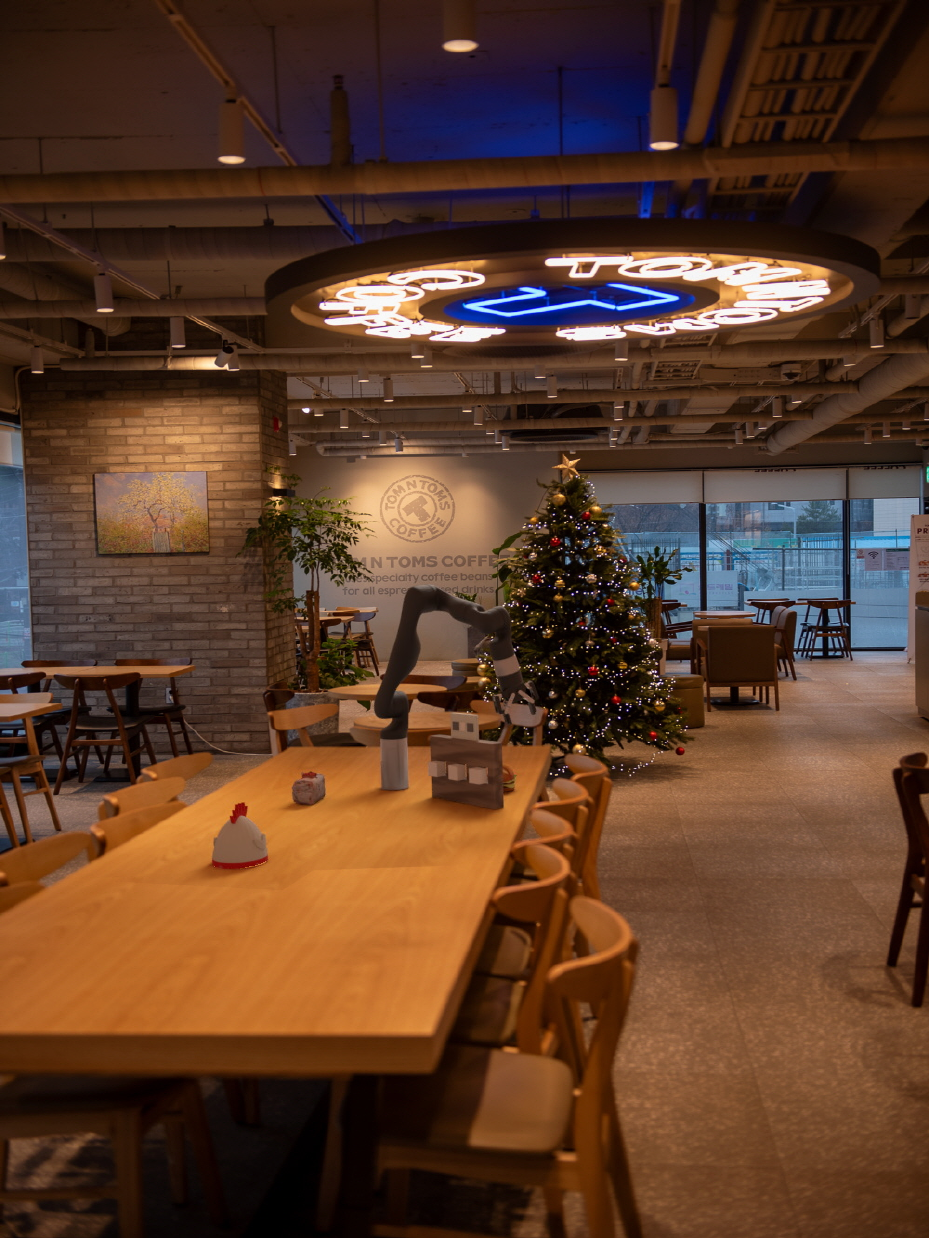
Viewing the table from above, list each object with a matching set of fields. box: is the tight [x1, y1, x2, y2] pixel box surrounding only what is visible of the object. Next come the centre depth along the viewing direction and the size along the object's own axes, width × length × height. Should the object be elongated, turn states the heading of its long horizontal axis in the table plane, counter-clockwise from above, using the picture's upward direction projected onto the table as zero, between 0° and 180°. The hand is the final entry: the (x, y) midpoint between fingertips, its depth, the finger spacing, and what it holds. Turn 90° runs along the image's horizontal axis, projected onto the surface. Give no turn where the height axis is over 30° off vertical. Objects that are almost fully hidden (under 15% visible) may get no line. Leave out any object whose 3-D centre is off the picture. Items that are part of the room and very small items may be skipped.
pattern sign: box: [450, 712, 480, 741], centre depth 339 cm, size 2×12×8 cm, turn 41°
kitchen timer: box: [211, 802, 269, 870], centre depth 272 cm, size 14×14×15 cm
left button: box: [427, 760, 446, 777], centre depth 345 cm, size 4×4×4 cm
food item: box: [291, 771, 327, 806], centre depth 348 cm, size 14×8×10 cm, turn 169°
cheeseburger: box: [487, 762, 517, 793], centre depth 358 cm, size 10×11×10 cm
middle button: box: [448, 764, 467, 781], centre depth 337 cm, size 4×4×4 cm
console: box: [429, 734, 505, 810], centre depth 340 cm, size 4×30×20 cm, turn 41°
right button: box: [469, 767, 488, 784], centre depth 330 cm, size 4×4×4 cm
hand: (521, 719), depth 333 cm, fingers open, 8 cm apart
